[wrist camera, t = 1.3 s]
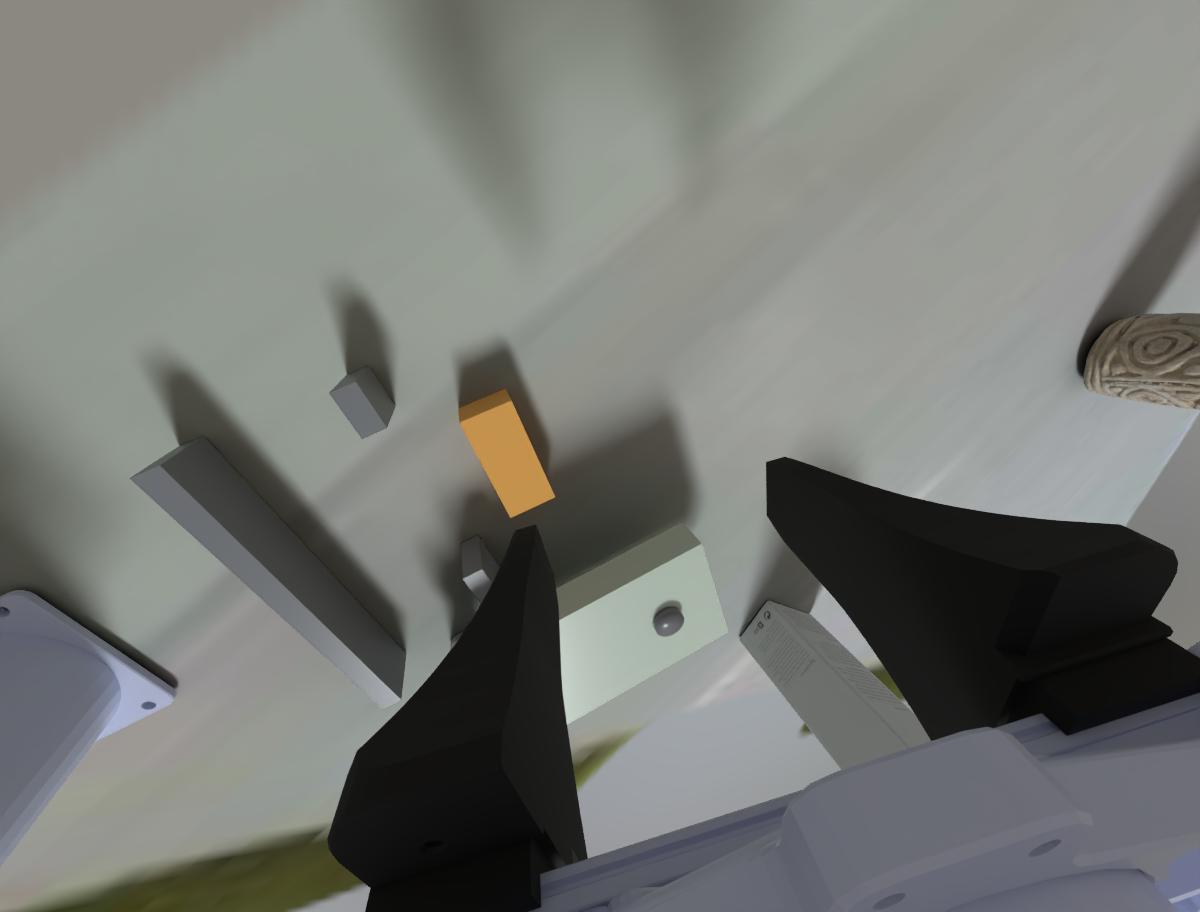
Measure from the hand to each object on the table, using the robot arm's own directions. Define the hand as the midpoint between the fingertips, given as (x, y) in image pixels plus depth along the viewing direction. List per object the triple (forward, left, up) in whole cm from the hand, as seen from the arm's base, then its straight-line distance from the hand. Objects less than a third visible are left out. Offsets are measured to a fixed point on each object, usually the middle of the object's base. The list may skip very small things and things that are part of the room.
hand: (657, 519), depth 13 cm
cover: (-5, -10, -10) cm, 15 cm away
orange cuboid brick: (-4, 0, -11) cm, 11 cm away
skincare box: (+9, -24, -11) cm, 28 cm away
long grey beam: (-11, -1, -10) cm, 15 cm away
